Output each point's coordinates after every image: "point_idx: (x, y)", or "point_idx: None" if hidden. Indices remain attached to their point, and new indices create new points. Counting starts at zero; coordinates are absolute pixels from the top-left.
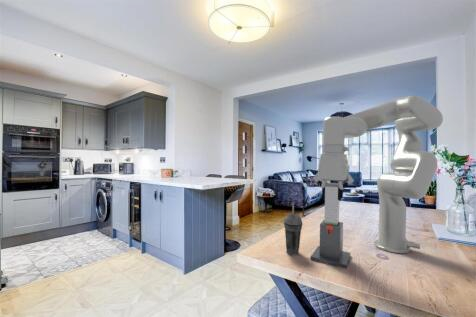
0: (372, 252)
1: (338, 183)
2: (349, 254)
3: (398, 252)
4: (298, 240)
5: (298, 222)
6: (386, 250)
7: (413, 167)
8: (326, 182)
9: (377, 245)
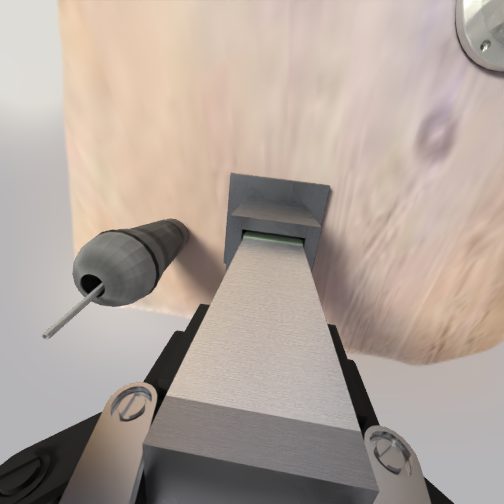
0: (413, 111)
1: (351, 498)
2: (325, 202)
3: None
4: (174, 257)
5: (144, 295)
6: (481, 64)
7: None
8: (135, 493)
9: (463, 29)
